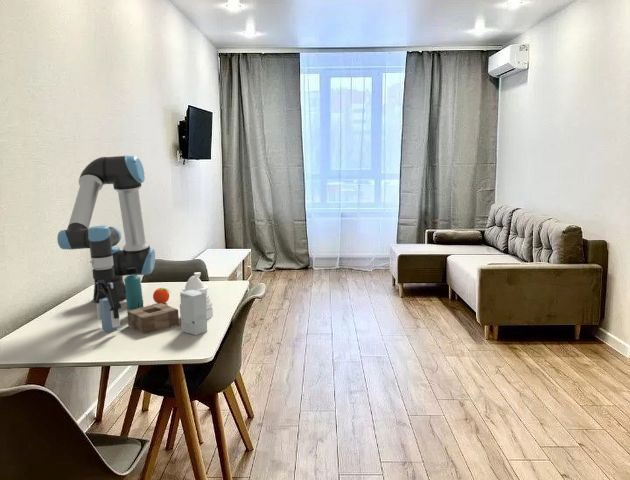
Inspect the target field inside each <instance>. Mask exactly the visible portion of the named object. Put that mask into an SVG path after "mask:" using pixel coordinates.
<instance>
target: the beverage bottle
mask: <svg viewBox="0 0 630 480" xmlns="http://www.w3.org/2000/svg"><path fill="white" fill-rule="evenodd" d="M134 273H137V270H136V267H130V268H127V269H126V274H134ZM123 282H124V284H125V289H126V299H125V301H126V312H127V311H129V310H133V309H137V308H142V307H145V306H144V298H143V292H142V291H143V289H142V282H141V277H140V275H127V276H126V277H125V278H124V279H123Z"/></svg>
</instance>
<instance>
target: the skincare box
mask: <svg viewBox="0 0 630 480" xmlns="http://www.w3.org/2000/svg"><path fill="white" fill-rule="evenodd" d="M179 296H180V304H181V317H180V320H181V322H180V323H181V332H183V333H186V334H191V335H193V336H197V335H200V334H203V333H206V332H208V322H207V321H208V319H207V313H206V293H203V292H200V291H195V290H188V291H184V292H183V291H181V292H180V295H179Z"/></svg>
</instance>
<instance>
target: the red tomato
mask: <svg viewBox="0 0 630 480" xmlns="http://www.w3.org/2000/svg"><path fill="white" fill-rule="evenodd" d="M169 292H170V293H171V291H170V290H169V289H168V288H165V287H159V288H157V289H156V290H154V292H153V294H152V298H153V301H154V302H155V303H156V304H159V303H162V304H166V303H167V302H168V301H169V299H170V293H169Z"/></svg>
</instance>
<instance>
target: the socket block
mask: <svg viewBox="0 0 630 480" xmlns="http://www.w3.org/2000/svg"><path fill="white" fill-rule="evenodd" d="M126 313H127V314H126V315H127V321H128V322H127V323H128V327H130V328H132V329H134V330H136V331H138V332H140V333H143V334H144V335H146V334H149V333H153V332H157V331H161V330H164V329H169V328H172V326H173V327H177V326H180V316H179V315H180V314H179V309H177V308H175V307H173V306H170V305H167V304H166V303H164V304H162V303H159V304H158V303H156V304H155V303H154V304H152V305H147V306H144V307H142V308H137V309H133V310H129V311H127V310H126Z"/></svg>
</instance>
